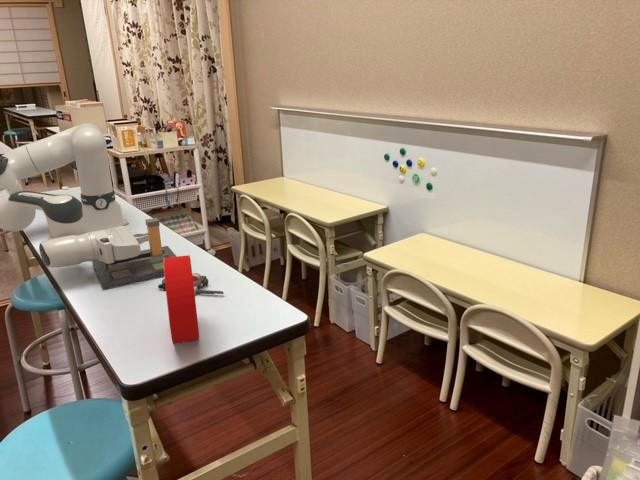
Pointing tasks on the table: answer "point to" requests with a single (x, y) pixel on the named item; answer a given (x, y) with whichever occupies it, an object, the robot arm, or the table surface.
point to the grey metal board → (132, 269)
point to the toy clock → (181, 299)
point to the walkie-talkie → (196, 285)
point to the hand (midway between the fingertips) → (149, 236)
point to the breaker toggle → (154, 236)
